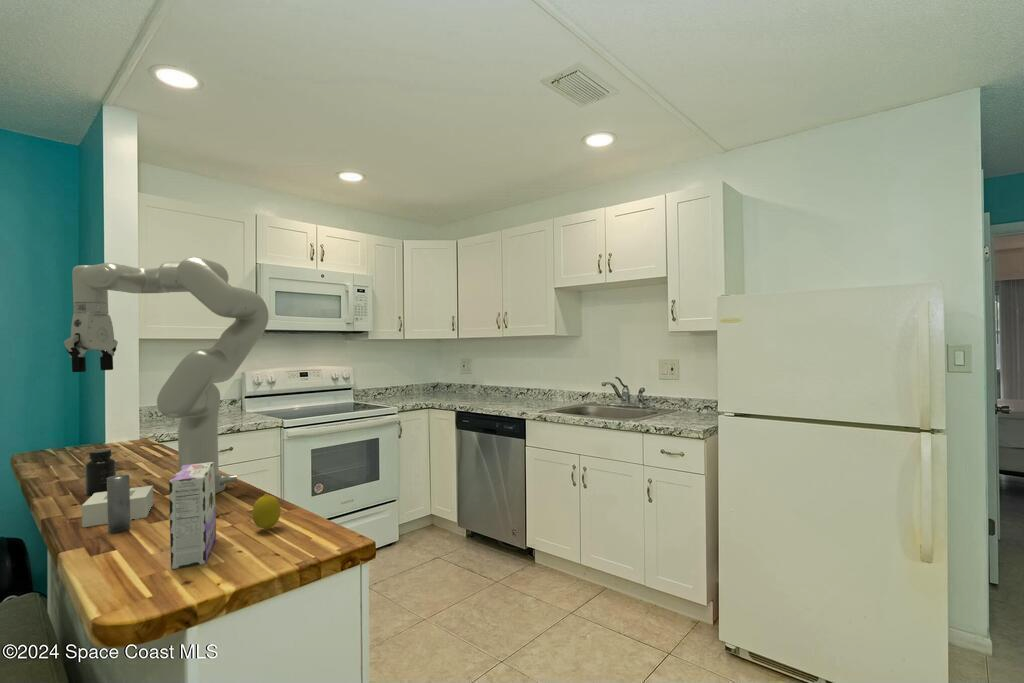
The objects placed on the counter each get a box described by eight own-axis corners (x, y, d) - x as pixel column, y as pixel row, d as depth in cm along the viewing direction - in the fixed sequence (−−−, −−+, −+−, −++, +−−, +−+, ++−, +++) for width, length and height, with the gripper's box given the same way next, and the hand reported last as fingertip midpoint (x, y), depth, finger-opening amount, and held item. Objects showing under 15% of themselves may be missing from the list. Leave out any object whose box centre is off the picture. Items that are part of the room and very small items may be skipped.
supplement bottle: (79, 495, 143) (78, 452, 143) (105, 488, 150) (104, 447, 150) (97, 496, 141) (96, 453, 141) (122, 489, 148) (121, 448, 148)
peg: (132, 525, 117) (130, 473, 117) (128, 531, 113) (127, 477, 113) (110, 529, 115) (108, 476, 115) (106, 534, 111) (104, 480, 111)
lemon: (275, 524, 115) (274, 488, 115) (284, 530, 111) (283, 493, 111) (249, 530, 111) (248, 494, 111) (257, 537, 107) (256, 499, 107)
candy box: (184, 543, 105) (182, 464, 105) (217, 538, 107) (215, 460, 107) (169, 570, 92) (167, 479, 92) (207, 564, 94) (204, 475, 94)
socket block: (153, 504, 132) (152, 485, 132) (146, 517, 122) (145, 496, 122) (94, 512, 127) (94, 492, 127) (82, 527, 116) (81, 505, 116)
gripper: (79, 307, 134) (81, 372, 133) (127, 311, 151) (129, 368, 151) (50, 308, 133) (52, 373, 133) (101, 312, 151) (103, 370, 151)
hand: (93, 370), depth 142 cm, fingers open, 9 cm apart
